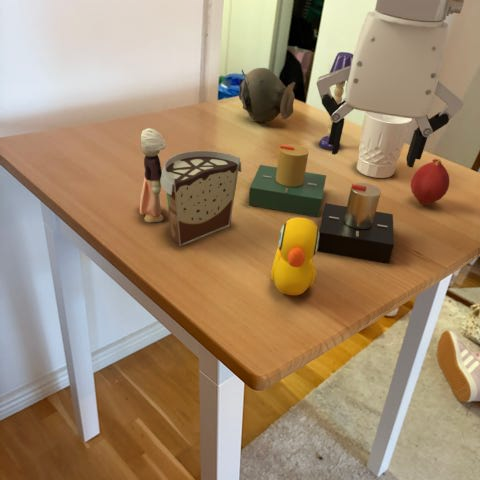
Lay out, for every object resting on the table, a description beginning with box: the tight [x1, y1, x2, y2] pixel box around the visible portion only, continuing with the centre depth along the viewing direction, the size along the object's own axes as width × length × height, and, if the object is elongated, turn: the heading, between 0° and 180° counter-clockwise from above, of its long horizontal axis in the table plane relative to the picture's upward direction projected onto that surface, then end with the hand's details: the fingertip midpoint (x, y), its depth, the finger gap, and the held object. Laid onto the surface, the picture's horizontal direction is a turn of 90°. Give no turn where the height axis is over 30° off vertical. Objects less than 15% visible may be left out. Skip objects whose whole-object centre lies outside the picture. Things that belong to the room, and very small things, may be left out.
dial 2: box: [344, 182, 382, 229], centre depth 72 cm, size 4×4×5 cm
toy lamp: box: [318, 51, 354, 151], centre depth 99 cm, size 5×5×17 cm
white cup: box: [356, 111, 413, 179], centre depth 93 cm, size 8×8×10 cm
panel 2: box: [316, 202, 395, 264], centre depth 75 cm, size 10×9×3 cm
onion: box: [410, 157, 450, 206], centre depth 85 cm, size 6×6×8 cm
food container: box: [160, 150, 243, 248], centre depth 72 cm, size 12×6×10 cm, turn 134°
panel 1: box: [247, 164, 327, 218], centre depth 84 cm, size 11×9×3 cm
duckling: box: [270, 217, 320, 296], centre depth 62 cm, size 11×5×10 cm, turn 171°
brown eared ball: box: [238, 67, 296, 123], centre depth 109 cm, size 10×12×10 cm
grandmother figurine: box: [139, 127, 167, 224], centre depth 73 cm, size 8×4×13 cm, turn 22°
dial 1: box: [276, 143, 310, 187], centre depth 81 cm, size 4×4×5 cm
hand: (371, 157), depth 68 cm, fingers open, 9 cm apart
